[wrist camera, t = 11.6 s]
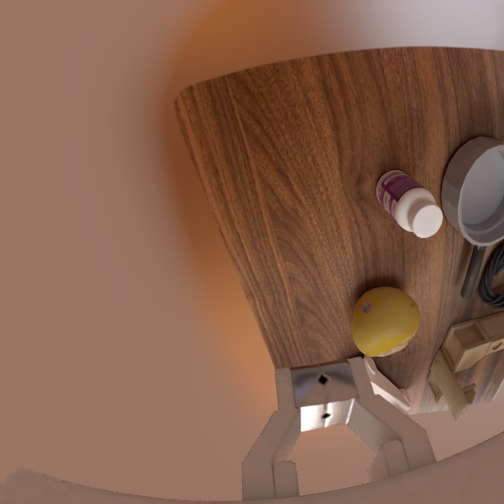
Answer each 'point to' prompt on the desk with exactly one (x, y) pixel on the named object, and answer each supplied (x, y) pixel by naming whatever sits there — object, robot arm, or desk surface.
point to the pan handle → (473, 271)
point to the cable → (499, 262)
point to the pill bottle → (409, 203)
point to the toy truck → (386, 387)
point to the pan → (476, 191)
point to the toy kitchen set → (463, 359)
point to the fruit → (384, 321)
